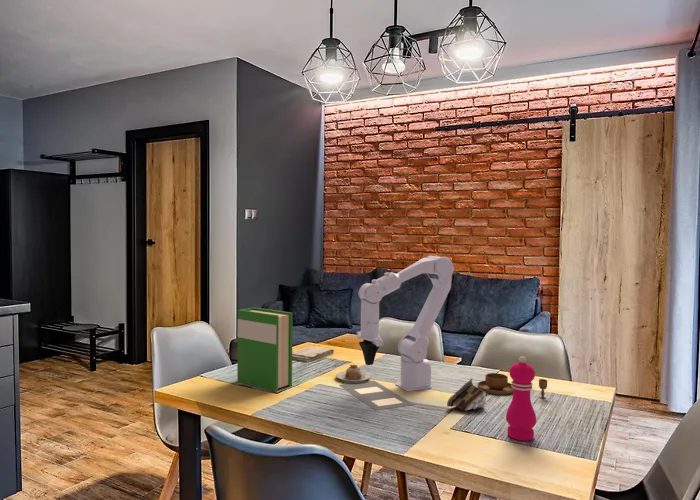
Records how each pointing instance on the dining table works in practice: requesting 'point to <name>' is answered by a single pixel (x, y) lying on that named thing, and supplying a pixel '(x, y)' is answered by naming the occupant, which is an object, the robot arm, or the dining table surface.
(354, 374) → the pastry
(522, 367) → the pepper mill
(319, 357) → the washcloth
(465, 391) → the chocolate cake
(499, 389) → the place setting
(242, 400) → the dining table surface
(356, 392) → the label panel
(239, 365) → the hardback book
